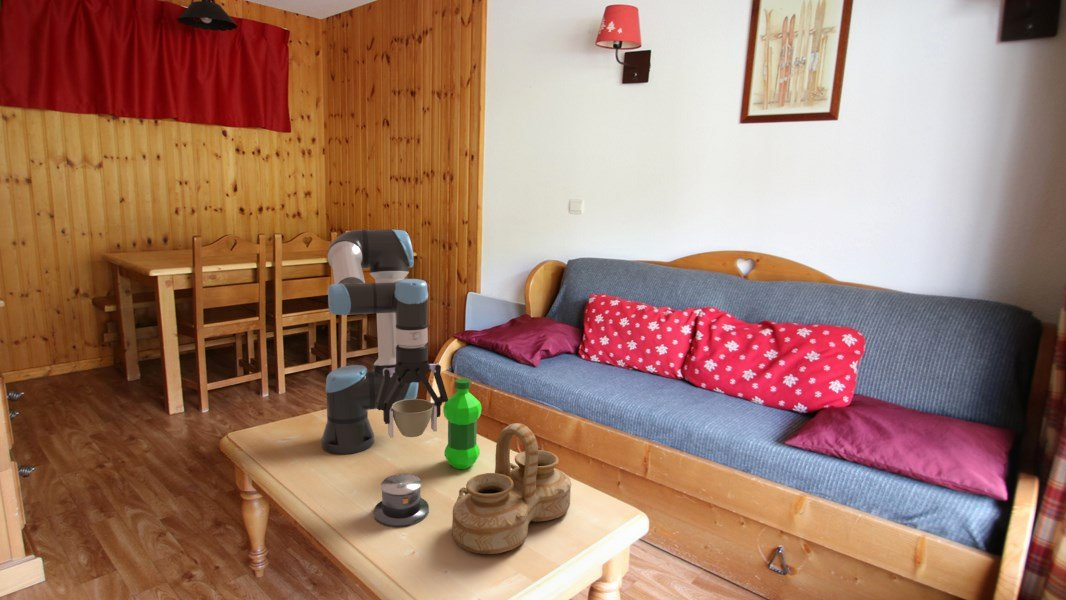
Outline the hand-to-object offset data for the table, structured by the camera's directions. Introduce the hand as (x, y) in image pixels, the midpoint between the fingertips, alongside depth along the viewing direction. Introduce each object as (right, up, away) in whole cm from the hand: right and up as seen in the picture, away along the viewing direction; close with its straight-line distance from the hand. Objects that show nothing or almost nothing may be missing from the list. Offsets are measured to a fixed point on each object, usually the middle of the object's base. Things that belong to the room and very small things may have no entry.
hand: (412, 432), depth 150 cm
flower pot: (0, 0, 0) cm, 1 cm away
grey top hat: (-2, -19, -2) cm, 19 cm away
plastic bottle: (+9, -14, +23) cm, 29 cm away
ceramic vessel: (+25, -21, -4) cm, 32 cm away
